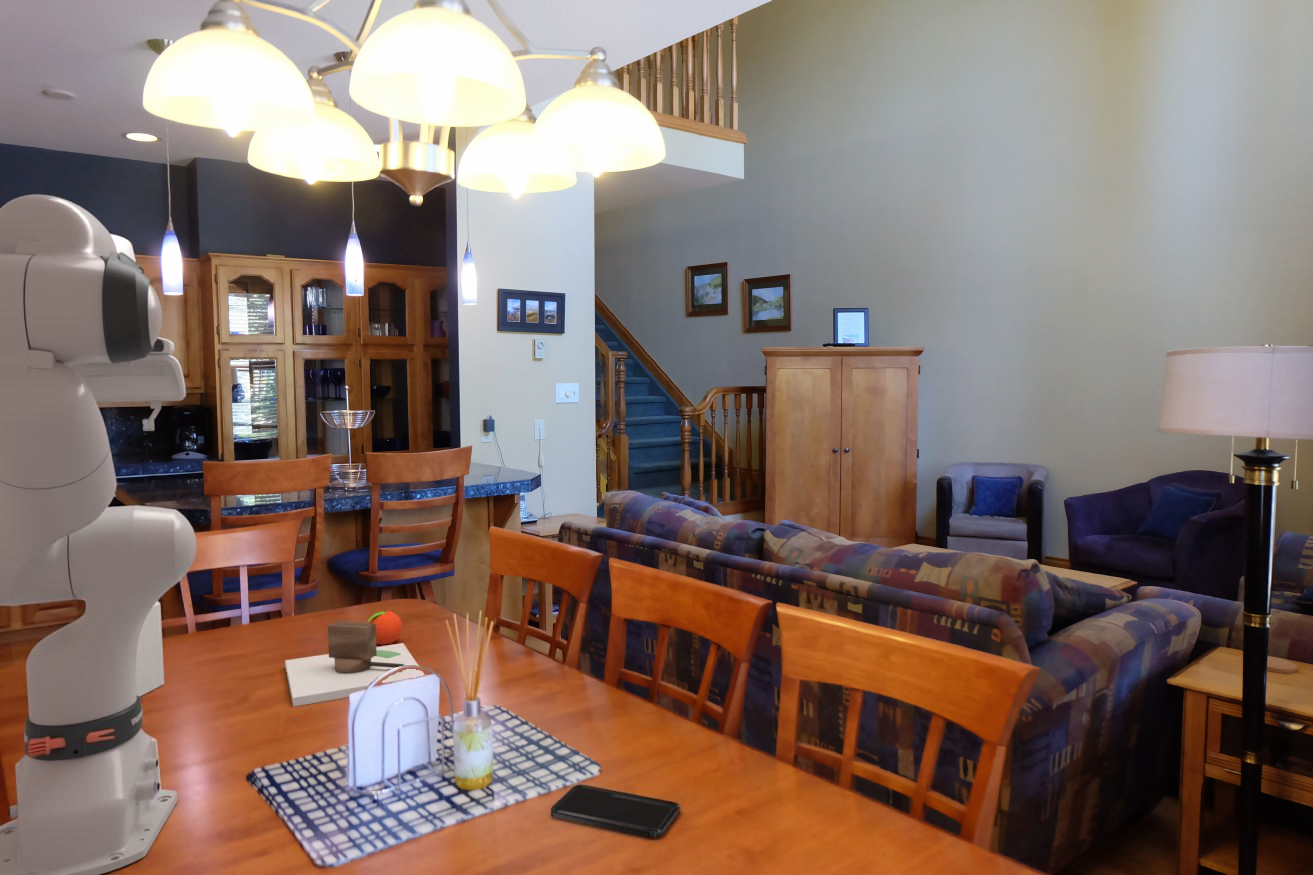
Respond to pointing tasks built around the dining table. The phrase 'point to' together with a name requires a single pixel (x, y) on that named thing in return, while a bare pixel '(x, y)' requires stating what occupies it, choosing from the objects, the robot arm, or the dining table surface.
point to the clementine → (386, 627)
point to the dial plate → (342, 675)
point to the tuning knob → (353, 646)
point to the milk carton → (150, 653)
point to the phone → (616, 811)
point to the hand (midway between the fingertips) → (113, 431)
